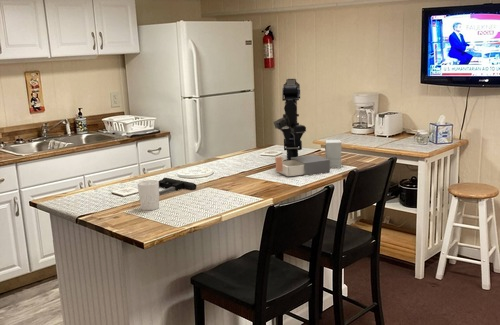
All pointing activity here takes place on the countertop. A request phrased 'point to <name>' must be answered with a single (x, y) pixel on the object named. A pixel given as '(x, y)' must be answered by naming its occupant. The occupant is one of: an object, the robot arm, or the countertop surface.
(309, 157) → the mailer sleeve
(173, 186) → the black handgun
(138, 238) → the countertop surface
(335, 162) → the supplement box
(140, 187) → the white cup
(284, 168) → the tray
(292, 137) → the robot arm
